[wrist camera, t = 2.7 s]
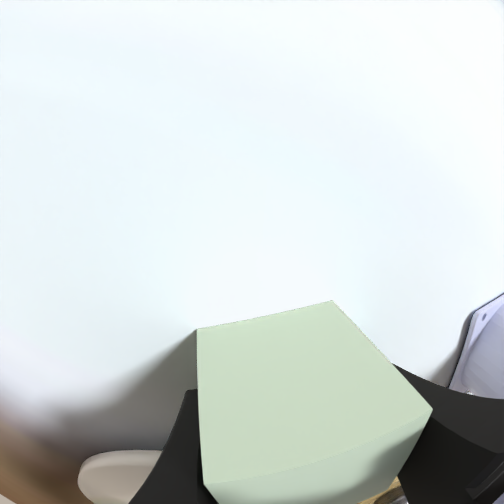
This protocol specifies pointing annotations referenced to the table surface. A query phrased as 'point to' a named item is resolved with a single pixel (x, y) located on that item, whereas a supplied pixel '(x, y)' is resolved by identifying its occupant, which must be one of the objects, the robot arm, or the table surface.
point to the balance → (389, 495)
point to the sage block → (301, 410)
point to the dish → (116, 475)
